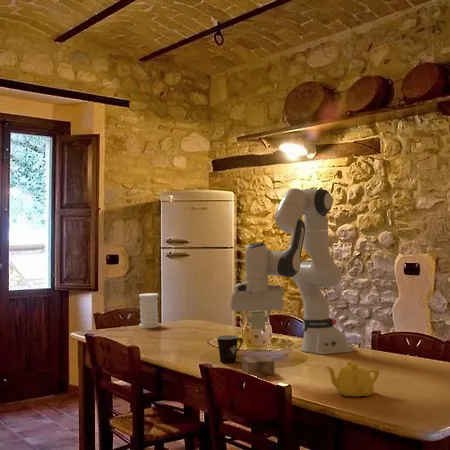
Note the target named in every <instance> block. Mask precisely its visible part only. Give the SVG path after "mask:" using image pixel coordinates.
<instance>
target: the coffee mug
mask: <svg viewBox="0 0 450 450" xmlns="http://www.w3.org/2000/svg"><path fill="white" fill-rule="evenodd" d="M216 339H217V346H218V354H219V359H220V360H219V361H220V363H223V364H233V363H236V362H237V355H238V354H237V353H238V351H239V349H240V348H241V347H242V344H243V340H242V338H241V337H238V336H237V335H228V334H227V335H226V334H225V335H219V336H217V337H216ZM238 340H240V344H239V346H238Z"/></svg>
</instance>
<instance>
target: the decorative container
mask: <svg viewBox="0 0 450 450" xmlns="http://www.w3.org/2000/svg"><path fill="white" fill-rule="evenodd" d="M158 297H159V293H155V292H152V293H151V292H150V293H149V292H148V293H140V294H138V298H139V305H140V306H139V310H140V312H139V315H140V318H139V319H140V323H138V325H139V326H138V328H141V329H155V328H159V327H160V326H161V324H160V322H159V316H158V315H159V311H158V309H159V306H158V303H159V301H158Z"/></svg>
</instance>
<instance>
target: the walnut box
mask: <svg viewBox="0 0 450 450" xmlns="http://www.w3.org/2000/svg"><path fill="white" fill-rule="evenodd" d="M242 371H243V372H246V373H248V374H251V375H254V376H257V377H261V378H268V377H267V376H272V377H275V361H274V359H272V358H271V357H269V356H268V355H267V354H265V355H251V356H241V372H242Z"/></svg>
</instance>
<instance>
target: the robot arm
mask: <svg viewBox="0 0 450 450" xmlns="http://www.w3.org/2000/svg"><path fill="white" fill-rule="evenodd" d="M332 205H333V199H332V195H331V193H330V192H329V191H328V190H327V189H323V188H319V189H316V188H305V189H300V188H296V187H295V188H294V187H293V188H290V189H288V190H287V191H286V192H285V194H284V195H283V196H282V198H281V200H280V202H279V203H278V206H277V208H276V210H275V212H274V222H275V224H276V226H277V227H278V228H279V230H281V231H283V232H284V233H286V234H289V235H290V240H289V244H288V248H287V249H286V250H285V249H284V250H270V249H268V247H267V245H266V243H264V242H253V243H249V244H248V245H246V248H245V254H244V268H245V276H244V280H243V281H241V282H238V283H235V284H233V290H234V291H233V292H232V293H231V297H230V298H231V299H230V309H231V311H233V312H243V314H244V315H245V317H246V322H247V323H249V324H250V322H251V317H249V315H248V314H249V312H250V311H266V314H265V323H268V322H269V317H270V315H271V313H272V311H282V310H283V309H284V308H285V305H284V304H285V303H284V302H285V301H284V296H285V289H284V287H283V286H281V285H280V284H277V285H269V276H276V277H284V278H291V280H292V282H293V283H295V285H296V286H297V288H298V291H300V295H301V298H302V304H303V318H302V329H303V330H302V331H303V339H302V344H301V351H302V352H305V353H311V354H317V355H327V354H330V355H331V354H340V353H341V354H342V353H351V352H354V348H353V346H352V345H350V344H349V343H348V338H347V337H346V334H344V333H343V331H341V330H340V329H338V328H337V327H336V326H334V325H336V324H337V323H338V322H337V320H336V319H333V318H331V317H330V302H329V299H328V298H327V297H326V296H325V295H324V293H323V291H322V289H321V288H323V289H328V288H334V287H336V286H338V285H339V284H340V282H341V280H342V271H341V269H340V267H339V266H338V265H337V264H336V263H335V261H334V260H333V258H332V255H331V252H330V247H329V220H328V219H329V218H328V213H329V212H330V210H331V207H332ZM303 250H304V251H305V252H306V253H307V254H308V255H309V257H310V260H311V261H302V260H301V259H302V252H303Z"/></svg>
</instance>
